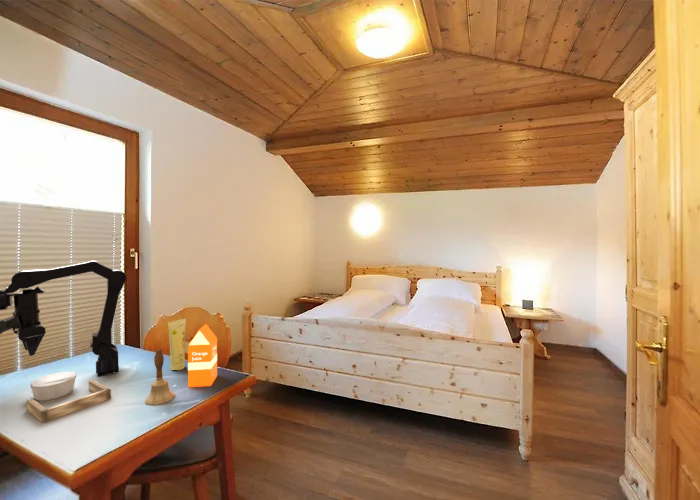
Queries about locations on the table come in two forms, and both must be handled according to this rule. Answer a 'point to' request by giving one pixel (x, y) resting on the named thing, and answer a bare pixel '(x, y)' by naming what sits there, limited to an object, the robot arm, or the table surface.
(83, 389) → the table surface
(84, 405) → the cradle
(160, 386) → the hand bell
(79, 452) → the table surface
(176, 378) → the table surface
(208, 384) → the orange juice
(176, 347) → the tube
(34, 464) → the table surface
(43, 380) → the ramekin
